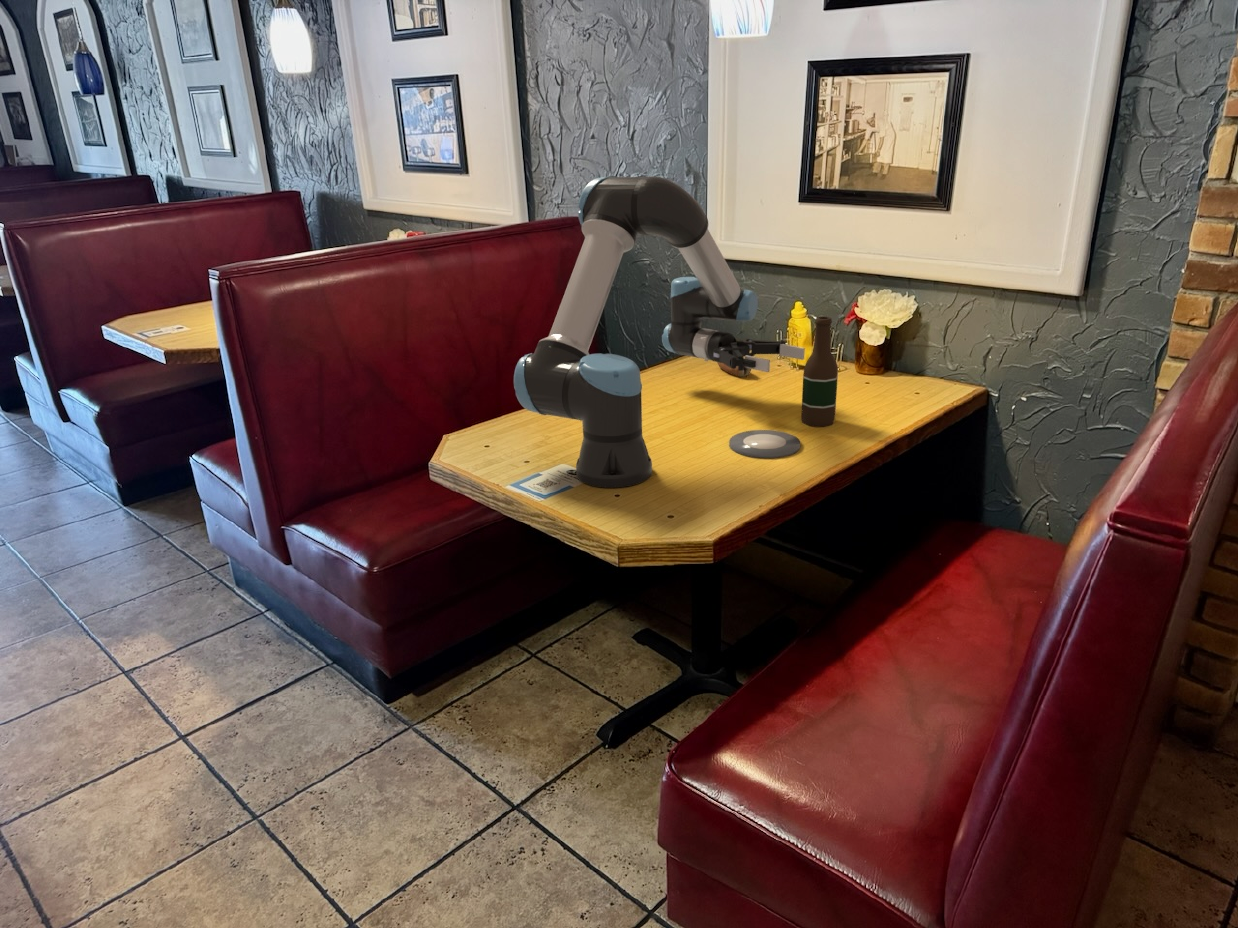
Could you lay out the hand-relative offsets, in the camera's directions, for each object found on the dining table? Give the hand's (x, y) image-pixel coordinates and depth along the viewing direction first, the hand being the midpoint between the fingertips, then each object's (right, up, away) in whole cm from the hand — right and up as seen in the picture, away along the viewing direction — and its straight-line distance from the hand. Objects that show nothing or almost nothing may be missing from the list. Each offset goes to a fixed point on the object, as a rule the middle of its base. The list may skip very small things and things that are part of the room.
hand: (786, 359), depth 194 cm
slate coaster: (-8, -20, -14) cm, 26 cm away
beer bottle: (+7, -14, -1) cm, 16 cm away
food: (-7, +1, +39) cm, 40 cm away
